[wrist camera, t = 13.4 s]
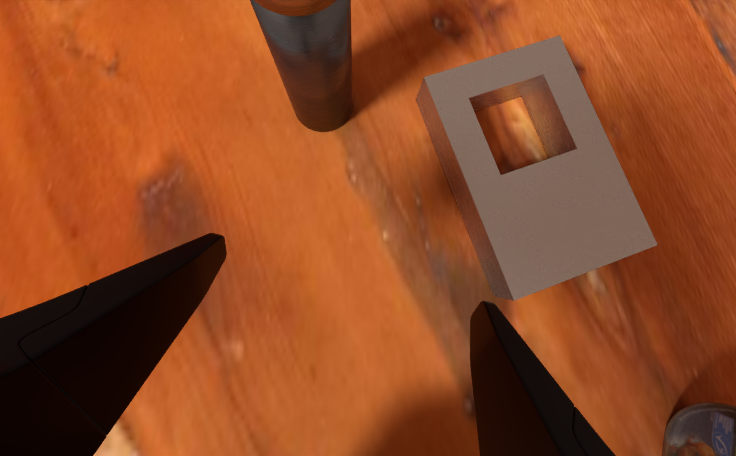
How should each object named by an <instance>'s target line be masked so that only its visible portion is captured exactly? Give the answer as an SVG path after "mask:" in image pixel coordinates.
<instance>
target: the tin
mask: <svg viewBox="0 0 736 456" xmlns="http://www.w3.org/2000/svg"><path fill="white" fill-rule="evenodd" d="M662 456H736V406H732V405H728V404H722V403H711V402H710V403H697V404H693V405H690V406H687V407H685V408H683V409H681V410H680V411H678V412H677V413H676V414H675V415H674V416H673V417H672V418H671V419H670V421H669V423H668V425H667V427H666V430H665V435H664V442H663V451H662Z"/></svg>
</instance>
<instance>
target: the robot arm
mask: <svg viewBox="0 0 736 456" xmlns="http://www.w3.org/2000/svg"><path fill="white" fill-rule="evenodd" d="M226 254H227V252H226V245H225V238H224V236H222V235H219V234H215V233H209V234H206V235H204V236H202V237H199V238H197V239H194V240H192V241H190V242H187V243H185V244H183V245H180V246H178V247H175V248H173V249H171V250H168V251H166V252H164V253H161V254H159V255H156V256H154V257H152V258H149V259H147V260H145V261H142V262H140V263H137V264H135V265H133V266H130V267H128V268H126V269H123V270H121V271H118V272H116V273H114V274H111V275H109V276H107V277H104V278H102V279H99V280H97V281H95V282H92V283H90V284H89V285H85V286H83V287H80V288H78V289H75V290H73V291H71V292H68V293H66V294H63V295H61V296H58V297H56V298H53V299H51V300H48V301H46V302H43V303H41V304H38V305H35V306H33V307H30V308H27V309H25V310H22V311H19V312H16V313H14V314H11V315H8V316H5V317H3V318H0V456H93V455H94V454H95V452H96V451H97V449H98V448H99V447H100V445H101V444H102V442H103V441H104V440H105V438H106V435H108V434H109V432H110V431H111V429H112V428H113V426H114V425H115V424H116V422H117V421H118V419H119V418H120V416H121V415H122V414H123V412H124V411H125V409H126V408H127V407H128V405H129V404H130V402H131V401H132V399H133V398H134V397H135V395H136V394H137V392H138V391H139V389H140V388H141V387H142V385H143V384H144V382H145V381H146V380H147V378H148V377H149V375H150V374H151V372H152V371H153V370H154V368H155V367H156V365H157V364H158V363H159V361H160V360H161V358H162V357H163V355H164V354H165V353H166V351H167V350H168V348H169V347H170V345H171V344H172V343H173V341H174V340H175V338H176V337H177V336H178V334H179V333H180V331H181V330H182V328H183V327H184V326H185V324H186V323H187V321H188V320H189V318H190V317H191V316H192V314H193V313H194V311H195V310H196V309H197V307H198V306H199V304H200V303H201V301H202V300H203V298H204V297H205V295H206V293H207V292H208V290H209V288H210V286H211V284H212V283H213V281H214V279H215V277H216V275H217V273H218V272H219V270H220V268H221V266H222V264H223V262H224V261H225V258H226ZM470 366H471V377H472V386H473V395H474V404H475V413H476V422H477V432H478V441H479V450H480V456H616V455H615V454H614V453H613V452H612V451H611V450H610V448H609V447H608V446H607V445H606V444H605V443H604V441H603V440H602V439H601V438H600V436H599V435H598V434H597V433H596V432H595V430H594V429H593V428H592V427H591V425H590V424H589V423H588V422H587V420H586V419H585V418H584V417H583V415H582V414H581V413H580V411H579V410H578V409H577V408H576V407H574V404H573V403H572V401H571V400H570V399H569V398H568V396H567V395H566V394H565V392H564V391H563V390H562V389H561V387H560V386H559V385H558V384H557V382H556V381H555V380H554V378H553V377H552V376H551V375H550V373H549V372H548V371H547V369H546V368H545V367H544V366H543V364H542V363H541V362H540V361H539V359H538V358H537V357H536V355H535V354H534V353H533V352H532V350H531V349H530V348H529V347H528V345H527V344H526V343H525V341H524V340H523V339H522V338H521V336H520V335H519V334H518V333H517V331H516V330H515V329H514V327H513V326H512V325H511V324H510V322H509V321H508V320H507V318H506V317H505V316H504V315H503V313H502V312H501V311H500V310H499V308H498V307H497V306H496V305H495V304H494V303H491V302H487V301H482V302H480V304H479V305H478V306H477V308H476V309H475V311H474V312H473V314H472V316H471V319H470Z"/></svg>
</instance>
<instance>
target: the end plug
mask: <svg viewBox="0 0 736 456" xmlns="http://www.w3.org/2000/svg"><path fill="white" fill-rule="evenodd" d="M250 1H251V4H252V6H253V9H254V11H255V14H256V16H257V19H258V21H259V24H260V26H261V29H262V31H263V34H264V36H265V39H266V41H267V44H268V46H269V49H270V51H271V54H272V56H273V59H274V61H275V64H276V66H277V69H278V71H279V74H280V76H281V79H282V81H283V84H284V86H285V89H286V91H287V94H288V96H289V99H290V101H291V104H292V106H293V109H294V111H295V114H296V116H297V118H298V119H299V121H300V122H301V123H302V124H303V125H304V126H306V127H307V128H309V129H311V130H314V131H318V132H329V131H333V130H335V129H338V128H339V127H341V126H342V125H343V124H344V123H346V121H347V120H348V119H349V117H350V115H351V112H352V107H353V100H352V48H351V0H250Z"/></svg>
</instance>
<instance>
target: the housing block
mask: <svg viewBox="0 0 736 456" xmlns="http://www.w3.org/2000/svg"><path fill="white" fill-rule="evenodd" d="M518 97H522V99H523V101H524V104H525V106H526V108H527V111H528V113H529V115H530V117H531V120H532V122H533V124H534V126H535V129H536V131H537V133H538V136H539V138H540V140H541V142H542V145H543V147H544V149H545V151H546V154H547V156H548V158H549V159H546V160H543V161H541V162H538V163H535V164H532V165H529V166H526V167H523V168H520V169H517V170H515V171H512V172H509V173H506V174H503V175H501V174H500V172H499V170H498V167H497V165H496V162H495V160H494V158H493V155H492V153H491V151H490V148H489V146H488V143H487V141H486V139H485V136H484V134H483V131H482V129H481V127H480V124H479V122H478V119H477V117H476V115H475V111H478V110H481V109H484V108H488V107H491V106H494V105H497V104H500V103H503V102H506V101H509V100H512V99H515V98H518ZM416 102H417V104H418V107H419V109H420V112H421V114H422V117H423V119H424V122H425V124H426V127H427V129H428V132H429V134H430V137H431V139H432V142H433V144H434V147H435V150H436V152H437V155H438V157H439V160H440V162H441V165H442V167H443V170H444V172H445V175H446V177H447V180H448V182H449V185H450V187H451V190H452V192H453V195H454V197H455V200H456V203H457V205H458V208H459V210H460V213H461V215H462V218H463V220H464V223H465V225H466V228H467V230H468V233H469V235H470V238H471V240H472V243H473V245H474V248H475V250H476V253H477V256H478V258H479V261H480V263H481V266H482V268H483V271H484V273H485V276H486V278H487V281H488V283H489V286H490V288H491V291H492V293H493V296H496V297H500V298H505V299H509V300H513V301H515V300H517V299H520V298H522V297H525V296H527V295H530V294H533V293H535V292H538V291H540V290H543V289H545V288H548V287H551V286H553V285H556V284H558V283H561V282H564V281H566V280H569V279H571V278H574V277H576V276H579V275H582V274H584V273H587V272H589V271H592V270H594V269H597V268H600V267H602V266H605V265H607V264H610V263H612V262H615V261H618V260H620V259H623V258H625V257H628V256H631V255H633V254H636V253H638V252H641V251H643V250H646V249H649V248H651V247H654V246H656V245H657V242H656V240H655V238H654V236H653V234H652V232H651V230H650V227H649V225H648V223H647V221H646V219H645V217H644V215H643V212H642V210H641V208H640V206H639V204H638V202H637V200H636V197H635V195H634V193H633V191H632V189H631V187H630V185H629V182H628V180H627V178H626V176H625V174H624V172H623V170H622V167H621V165H620V163H619V161H618V159H617V157H616V155H615V152H614V150H613V148H612V146H611V144H610V142H609V140H608V137H607V135H606V133H605V131H604V129H603V127H602V125H601V122H600V120H599V118H598V116H597V114H596V112H595V110H594V108H593V105H592V103H591V101H590V99H589V97H588V95H587V93H586V90H585V88H584V86H583V84H582V82H581V80H580V78H579V75H578V73H577V71H576V69H575V67H574V65H573V63H572V60H571V58H570V56H569V54H568V52H567V50H566V48H565V45H564V43H563V41H562V39H561V37H560V36H557V37H553V38H550V39H547V40H544V41H540V42H537V43H534V44H531V45H527V46H524V47H521V48H517V49H514V50H511V51H508V52H504V53H501V54H498V55H495V56H491V57H488V58H485V59H482V60H478V61H475V62H472V63H469V64H465V65H462V66H459V67H456V68H452V69H449V70H446V71H443V72H439V73H436V74H433V75H430V76H426V77H424V79H423V81H422V84H421V87H420V89H419V92H418V95H417V98H416Z"/></svg>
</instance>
